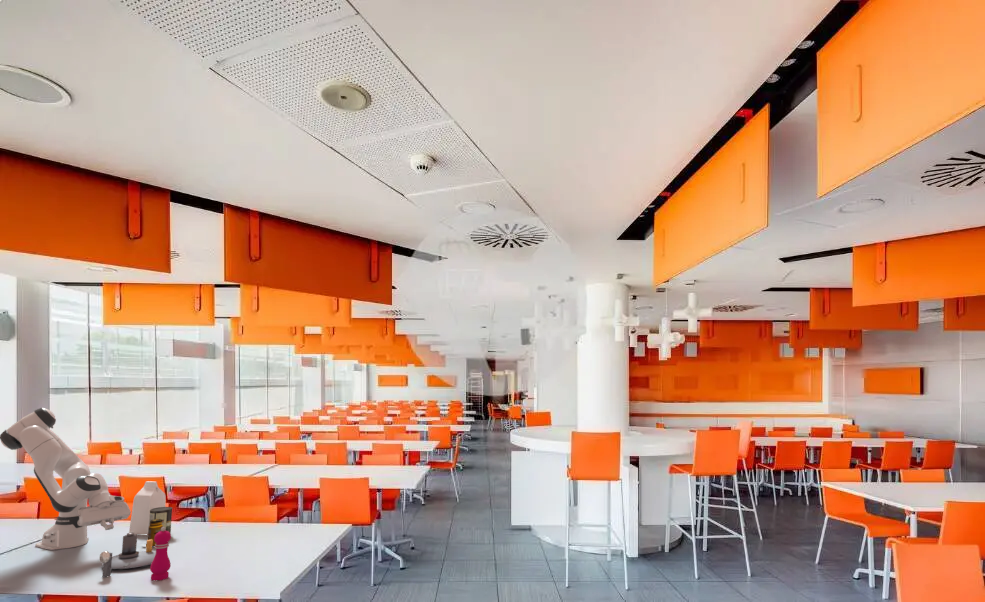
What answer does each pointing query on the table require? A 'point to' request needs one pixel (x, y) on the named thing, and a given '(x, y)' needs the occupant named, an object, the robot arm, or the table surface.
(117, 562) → the turntable
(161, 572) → the pepper mill
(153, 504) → the milk
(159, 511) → the coffee can
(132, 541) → the urn
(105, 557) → the grey bar with dome
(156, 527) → the condiment
